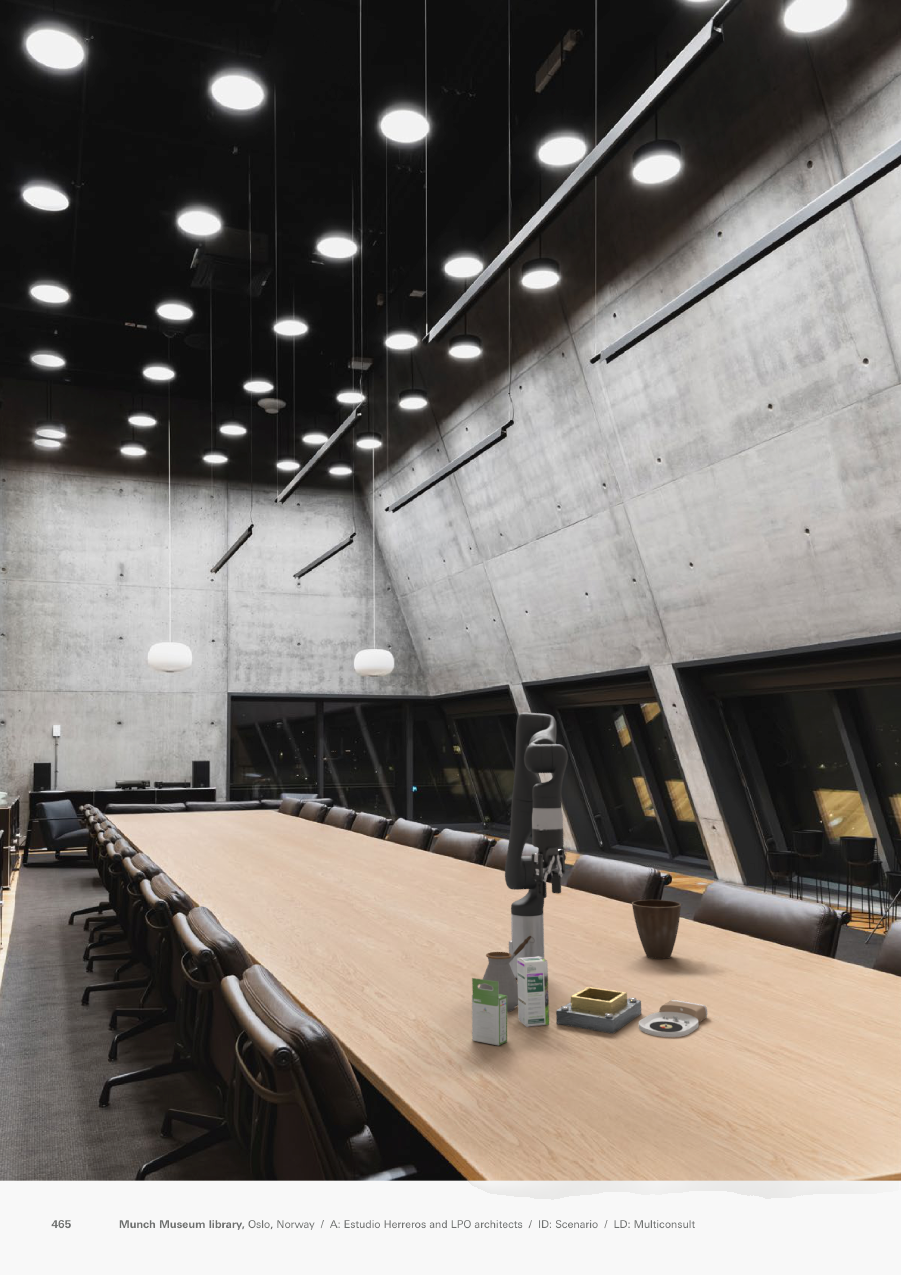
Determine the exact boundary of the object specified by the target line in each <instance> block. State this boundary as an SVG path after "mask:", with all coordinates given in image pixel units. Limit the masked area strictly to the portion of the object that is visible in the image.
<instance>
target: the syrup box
mask: <svg viewBox="0 0 901 1275" xmlns="http://www.w3.org/2000/svg"><path fill="white" fill-rule="evenodd" d="M548 966H549V965H548V960H546V959H545V957H544V958H542V957H539V956H537V957H526V958H517V978H516V979H517V984H518V1006H517V1009H518V1011H517V1013H518V1021H519V1023H521V1024H523V1025H524V1026H525V1027H527V1028H529V1027H539V1026H540V1027H541V1026H549V1025H550V1009H549V1008H550V1006H549V1004H550V1003H549V968H548Z"/></svg>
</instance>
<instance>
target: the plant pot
mask: <svg viewBox="0 0 901 1275" xmlns="http://www.w3.org/2000/svg"><path fill="white" fill-rule="evenodd" d="M631 904H632V911H633V917H634V921H635V925H636V929H637V933H638V937H639V940H640V943H641V945H642V946H641V947H642V948H643V950H644V953H645V956H646V957H647V958H650V959H657V960H658V959H659V960H660V959H661V960H663V959H670V958H671V957H672V953H673V951H674V948H675V943H676V940H677V934H678V930H679V924H680V918H681V907H682V904H681V903H680V902H677V901H672V900H664V899H663V900H662V899H642V900H635V901H632V902H631Z"/></svg>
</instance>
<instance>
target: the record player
mask: <svg viewBox="0 0 901 1275" xmlns="http://www.w3.org/2000/svg"><path fill="white" fill-rule="evenodd" d="M707 1017H708V1008H707V1006H706V1005H705V1004H701V1003H695V1002H688V1001H683V1000H677V999H670V1000H669V1001H668V1002H665V1003H664V1004H662V1005H661V1006H660V1008H659V1012H653V1013H650V1014H649V1015H646V1016H645V1017H643V1018H642V1019H640V1020H639V1021H638V1029H639V1030H640V1032H642V1033H646V1034H648V1035H650V1036H655V1037H662V1038H663V1037H664V1038H679V1037H680V1038H681V1037H683V1036H687V1035H689V1034H691V1033H693V1032H695V1030H697V1029H698V1028H699V1026H700V1025H699V1023H701V1022H702V1021H703V1020H705V1019H706V1018H707Z"/></svg>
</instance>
